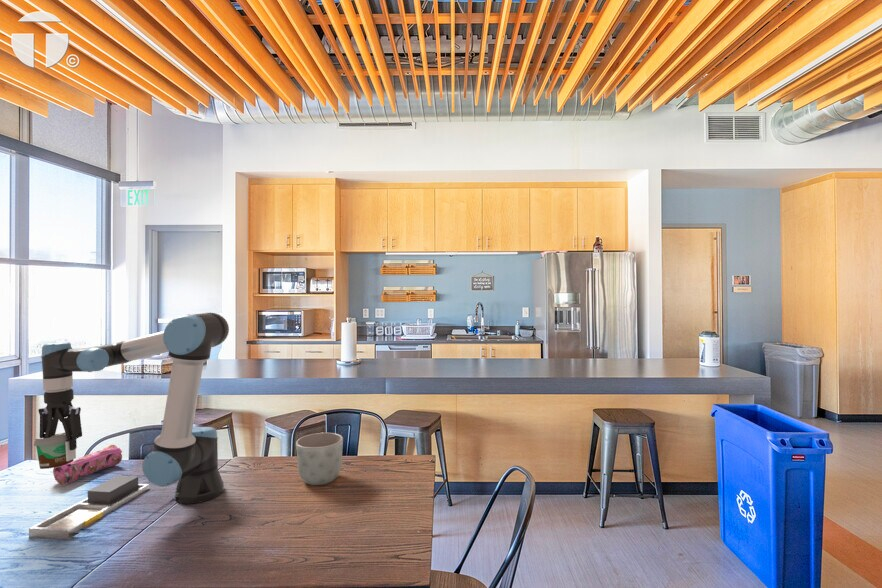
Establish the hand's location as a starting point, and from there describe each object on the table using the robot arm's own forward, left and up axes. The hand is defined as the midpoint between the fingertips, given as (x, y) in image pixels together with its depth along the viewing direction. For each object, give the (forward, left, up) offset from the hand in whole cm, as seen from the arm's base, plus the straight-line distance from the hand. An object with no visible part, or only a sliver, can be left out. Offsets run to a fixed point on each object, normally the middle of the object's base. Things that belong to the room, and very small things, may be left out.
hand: (62, 459), depth 152 cm
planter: (-77, -29, -17) cm, 84 cm away
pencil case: (+15, -25, -17) cm, 34 cm away
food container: (0, 0, -2) cm, 2 cm away
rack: (-13, +1, -16) cm, 21 cm away
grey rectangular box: (-13, -6, -15) cm, 21 cm away
